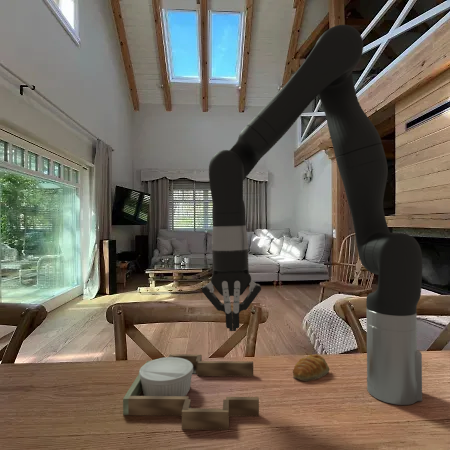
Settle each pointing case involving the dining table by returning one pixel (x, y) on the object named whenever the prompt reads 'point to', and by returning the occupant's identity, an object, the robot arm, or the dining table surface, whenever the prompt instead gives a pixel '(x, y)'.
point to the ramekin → (166, 377)
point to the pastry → (310, 368)
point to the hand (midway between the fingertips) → (232, 329)
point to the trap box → (182, 404)
